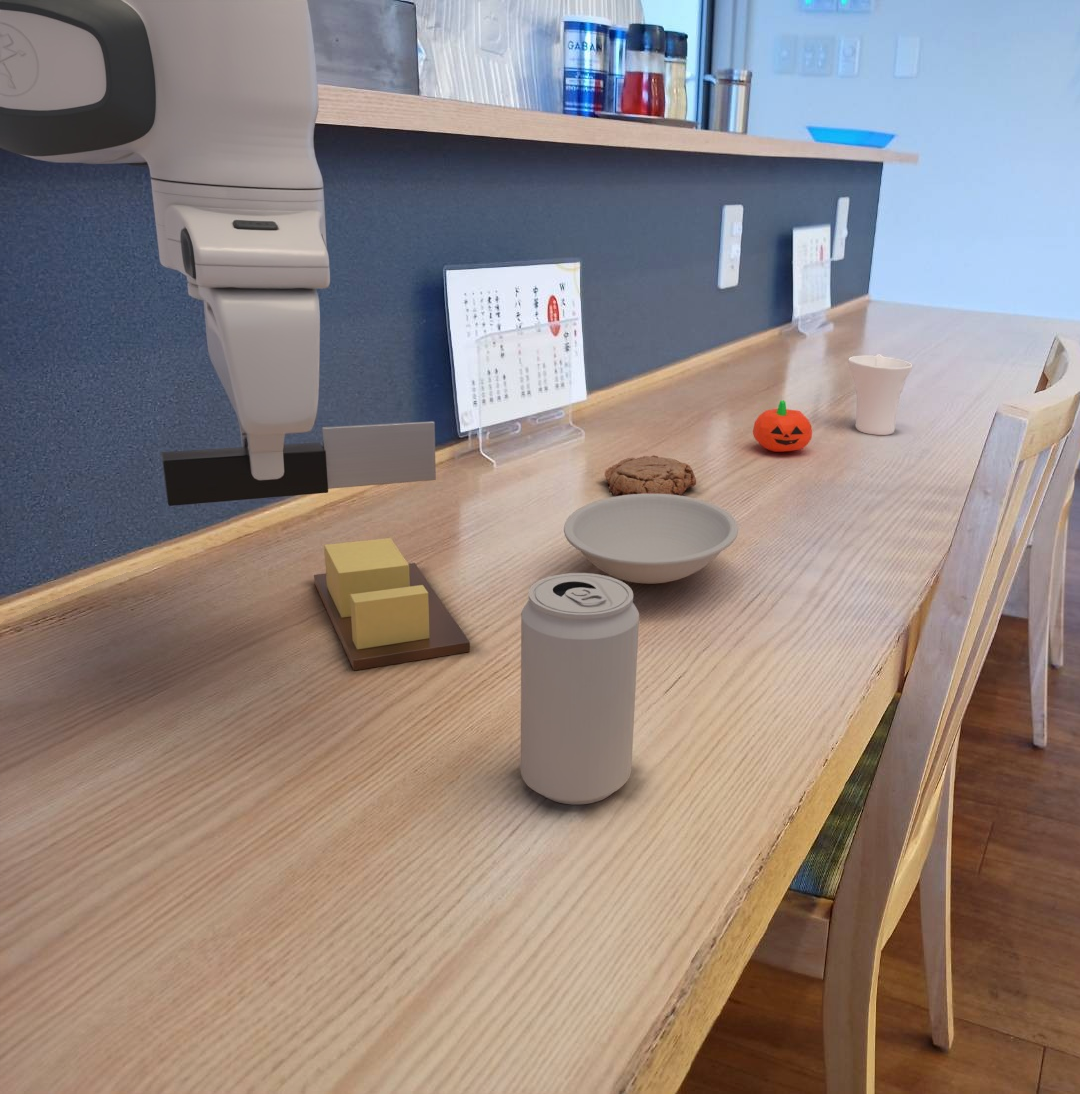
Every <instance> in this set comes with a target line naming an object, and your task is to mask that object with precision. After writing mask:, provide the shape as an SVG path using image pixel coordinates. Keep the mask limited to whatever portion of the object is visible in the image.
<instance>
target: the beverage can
mask: <svg viewBox="0 0 1080 1094" xmlns="http://www.w3.org/2000/svg"><path fill="white" fill-rule="evenodd" d="M633 601H634V591H633V590H632V588H631V587H630V586H629V585H628V584H626V583H625V582H623V580H621V579H618V578H616V577H613V576H609V575H604V574H598V573H591V572H569V573H568V572H567V573H559V574H554V575H551V576H547V577H544V578H542V579H539V580H538V581H536V582H534V583H533V584H532V585H531V586H530V587H529V589H528V600H527V602H526V603H525V605H524V606H523V608H522V610H521V612H520V614H521V615H520V620H521V621H520V633H521V634H520V753H519V754H520V756H519V757H520V766H519V767H520V769H519V771H520V776H521V778H522V780H523V782H524V783H525V785H527V787H529V789H531V790H533V791H534V792H536V793H538V794H539V795H541V796H543V797H545V798H546V799H549V800H550V801H553V802H556V803H560V804H565V805H573V806H574V805H588V804H589V805H590V804H594V803H597V802H600V801H602V800H605V799H606V798H609V797H610V796H611V795H612V794H613V793H615V792H617V791H618V790H619V789H621V788H622V787H623V786H625V784H626V783H627V781H628V780H629V778H630V776H631V774H632V768H633V767H632V766H633V748H634V747H633V746H634V727H635V726H634V725H635V710H636V709H635V708H636V687H637V671H638V668H637V667H638V649H639V648H638V647H639V629H640V612H639V610H638V608H637V606H636V605H635V603H634V602H633Z"/></svg>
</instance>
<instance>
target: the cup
mask: <svg viewBox="0 0 1080 1094" xmlns="http://www.w3.org/2000/svg"><path fill="white" fill-rule="evenodd" d="M847 364H848V367H849V369H850V372H851V375H852V379H853V384H854V385H853V386H854V390H855V395H856V415H855V416H856V417H855V425H854V426H855V428H856V430H857V431H859V432H861V433H864V434H869V435H877V436H888V435H892V434H894V432H895V430H896V420H897V413H898V407H899V402H900V397H901V394H902V393H903V389H904V386H905V384H906V381H907V378H908V377H909V375H910V374H911V372H912V370H913V368H914V364H912V363H911V362H910V361H907V360H904V359H901V358H897V357H892V356H891V357H890V356H883V355H882V354H881V353H877V354H876V355H869V354H868V355H867V354H866V355H853V356H850V357H849V358H848V359H847Z"/></svg>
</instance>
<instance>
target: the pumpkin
mask: <svg viewBox="0 0 1080 1094" xmlns="http://www.w3.org/2000/svg"><path fill="white" fill-rule="evenodd" d="M752 435H753V437H754V439H755V441H756V442H757V443H758V444H759V445H760V446H761V447H762V448H765V449H766V450H768V451H770V452H773V453H776V452H777V453H779V452H780V453H781V452H793V451H797V450H804V448H806V446H808V444H809V443H810V441H811V440H812V438H813V429H812V425H811V422H810V420H809V419H808V418H807V417H806V416H805V414H804V413H803V412H802V411H801V410H795V409H789V408H787V404H786V401H785V400H782V399H781V400H780V401H779V404H778V407H777V408H773V409H767V410H765V411H763V412H762V413H760V415H758V416H757V418H756V420H755V421H754V424H753V429H752Z"/></svg>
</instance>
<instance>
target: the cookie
mask: <svg viewBox="0 0 1080 1094" xmlns="http://www.w3.org/2000/svg"><path fill="white" fill-rule="evenodd" d="M694 473H695V472H694V470H693V468H692V467H691V466H690V464H688V463H686V462H681V461H679V460H677V459H675V458H672V457H671V458H670V457H664V456H658V455H654V454H653V455H651V456H650V455H649V456H648V455H643V456H640V457H636V458H635V457H627V458H623V459H622V460H620V461H619V462H618V463H615V464H612V466H609V467H608V469H605V471H604V477H605V480H606V483H607V484H608V486H609V487H608V490H610V492H611V493H612V494H613V496H614V497H616V496H622V495H631V494H671V495H680V496H682V494H684V493H685V491H686V490H687V489H688V488H689V486H690V487H695V486H696V485H697V479H696V478H697V477H696V475H695V474H694Z"/></svg>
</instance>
